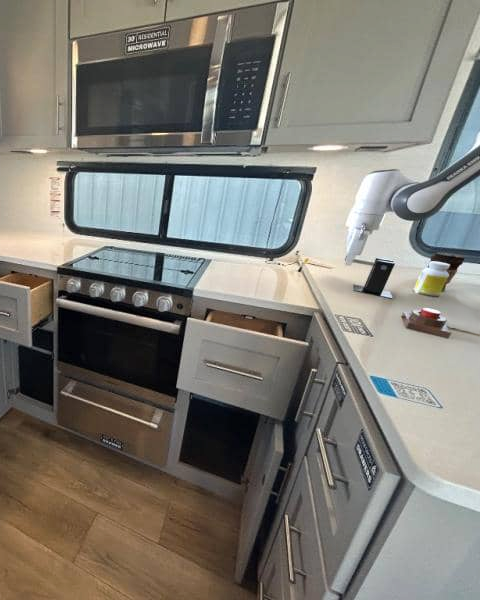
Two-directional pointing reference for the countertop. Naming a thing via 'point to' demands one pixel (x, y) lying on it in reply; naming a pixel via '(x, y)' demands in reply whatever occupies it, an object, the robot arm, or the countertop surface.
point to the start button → (430, 313)
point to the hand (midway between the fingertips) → (347, 263)
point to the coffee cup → (449, 259)
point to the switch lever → (364, 262)
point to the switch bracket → (377, 279)
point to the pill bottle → (432, 279)
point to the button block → (426, 324)
